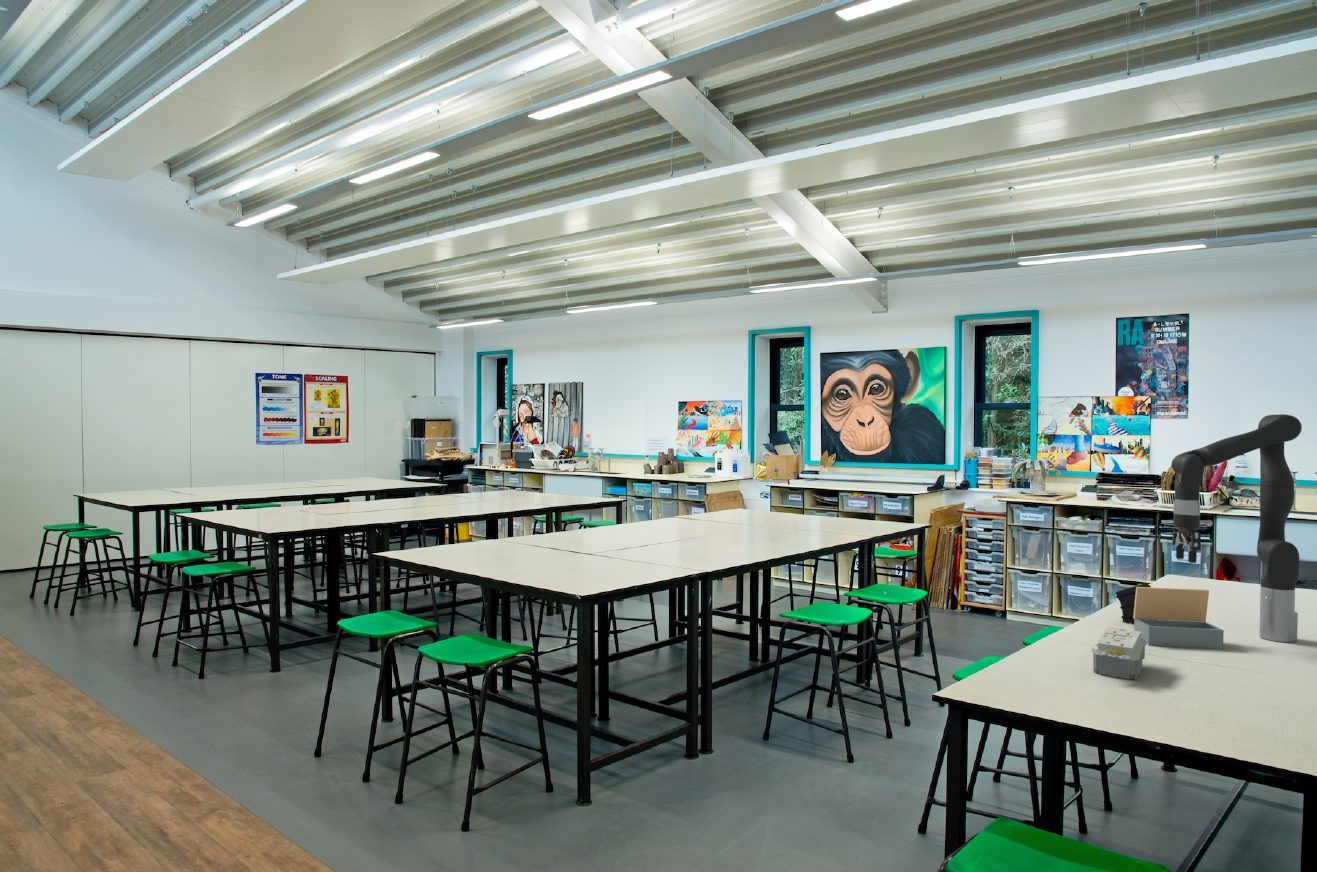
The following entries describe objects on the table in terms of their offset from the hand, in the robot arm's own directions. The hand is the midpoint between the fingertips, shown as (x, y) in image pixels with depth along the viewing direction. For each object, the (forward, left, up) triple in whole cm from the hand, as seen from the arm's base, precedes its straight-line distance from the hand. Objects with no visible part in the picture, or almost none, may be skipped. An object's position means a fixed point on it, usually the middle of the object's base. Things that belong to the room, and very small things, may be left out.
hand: (1185, 560), depth 275 cm
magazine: (+9, -15, -26) cm, 31 cm away
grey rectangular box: (+7, +11, -25) cm, 29 cm away
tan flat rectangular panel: (+7, +6, -14) cm, 17 cm away
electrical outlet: (+39, +48, -26) cm, 67 cm away
